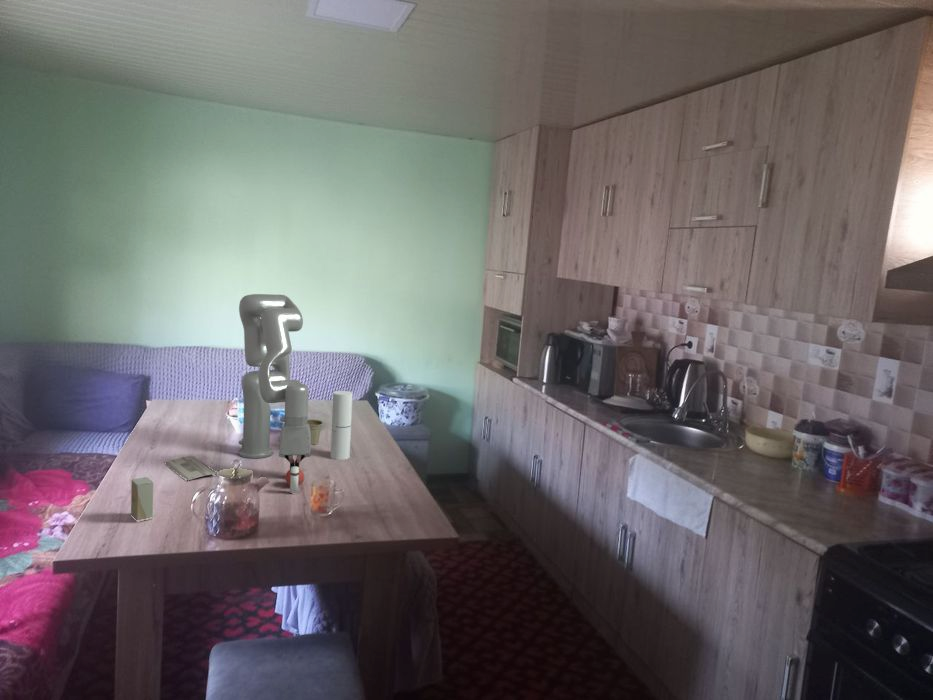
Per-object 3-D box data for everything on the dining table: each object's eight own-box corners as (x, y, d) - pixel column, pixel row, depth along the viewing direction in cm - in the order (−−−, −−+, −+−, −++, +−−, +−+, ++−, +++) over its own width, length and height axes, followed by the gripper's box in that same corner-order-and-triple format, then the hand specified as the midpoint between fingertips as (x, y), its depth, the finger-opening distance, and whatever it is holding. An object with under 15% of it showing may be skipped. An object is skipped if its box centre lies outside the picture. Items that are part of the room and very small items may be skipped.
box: (130, 517, 183) (130, 479, 182) (146, 513, 186) (147, 476, 185) (137, 523, 180) (137, 484, 178) (153, 519, 183) (153, 481, 181)
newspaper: (223, 477, 221) (223, 470, 221) (187, 487, 213) (186, 480, 213) (198, 458, 238) (198, 452, 237) (163, 467, 230) (162, 460, 229)
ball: (281, 469, 213) (281, 486, 214) (296, 473, 211) (296, 490, 212) (293, 463, 219) (292, 480, 220) (308, 467, 217) (307, 484, 218)
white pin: (288, 493, 209) (289, 467, 208) (294, 491, 211) (295, 465, 210) (293, 495, 208) (294, 469, 207) (299, 493, 210) (300, 467, 209)
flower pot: (299, 447, 258) (299, 425, 257) (297, 440, 267) (298, 419, 266) (323, 446, 261) (324, 425, 260) (320, 439, 270) (321, 419, 269)
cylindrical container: (345, 461, 245) (348, 395, 242) (327, 458, 246) (330, 393, 243) (352, 455, 252) (355, 392, 249) (334, 453, 253) (337, 390, 250)
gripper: (272, 423, 215) (271, 477, 217) (319, 423, 219) (317, 476, 221) (273, 418, 222) (271, 470, 224) (318, 418, 226) (316, 469, 228)
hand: (294, 473), depth 223 cm, fingers closed
